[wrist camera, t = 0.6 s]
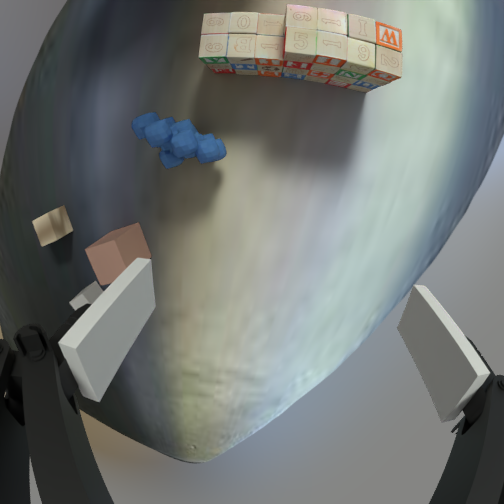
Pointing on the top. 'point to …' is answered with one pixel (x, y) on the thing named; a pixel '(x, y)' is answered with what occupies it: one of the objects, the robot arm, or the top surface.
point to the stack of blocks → (304, 46)
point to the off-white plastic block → (87, 295)
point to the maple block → (52, 226)
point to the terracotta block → (117, 252)
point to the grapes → (177, 140)
